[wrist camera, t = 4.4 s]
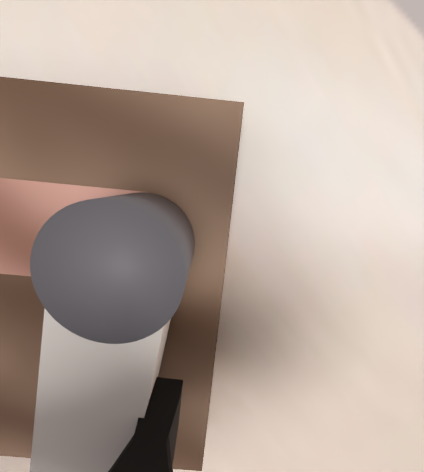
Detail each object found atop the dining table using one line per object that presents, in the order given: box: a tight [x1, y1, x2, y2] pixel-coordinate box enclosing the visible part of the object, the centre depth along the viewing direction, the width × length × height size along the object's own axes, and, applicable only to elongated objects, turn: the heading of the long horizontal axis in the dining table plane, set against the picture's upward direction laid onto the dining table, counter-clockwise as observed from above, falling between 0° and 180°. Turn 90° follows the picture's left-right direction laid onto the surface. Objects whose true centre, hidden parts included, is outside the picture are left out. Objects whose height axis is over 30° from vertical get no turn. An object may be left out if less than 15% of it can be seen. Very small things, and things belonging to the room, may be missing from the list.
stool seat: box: [0, 77, 244, 471], centre depth 10 cm, size 16×16×2 cm
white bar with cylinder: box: [30, 192, 195, 472], centre depth 8 cm, size 13×4×3 cm, turn 167°
